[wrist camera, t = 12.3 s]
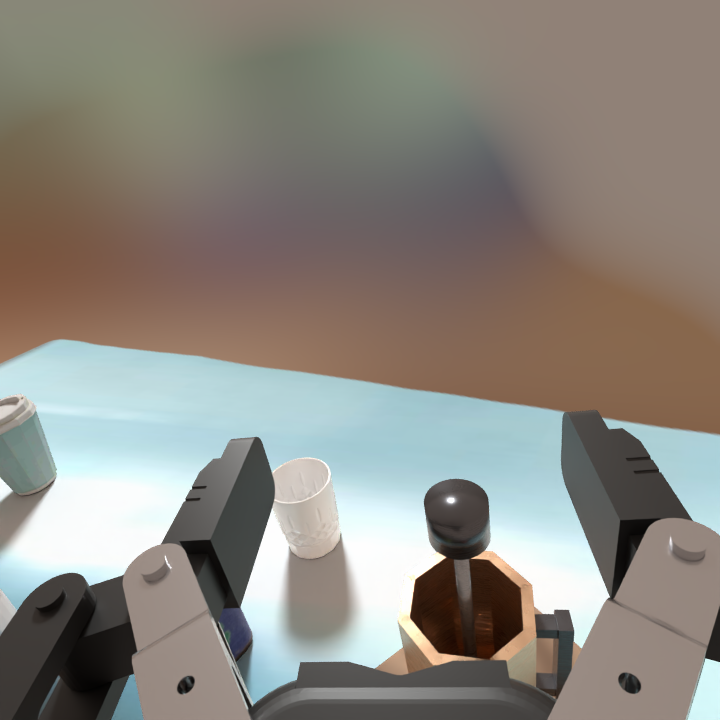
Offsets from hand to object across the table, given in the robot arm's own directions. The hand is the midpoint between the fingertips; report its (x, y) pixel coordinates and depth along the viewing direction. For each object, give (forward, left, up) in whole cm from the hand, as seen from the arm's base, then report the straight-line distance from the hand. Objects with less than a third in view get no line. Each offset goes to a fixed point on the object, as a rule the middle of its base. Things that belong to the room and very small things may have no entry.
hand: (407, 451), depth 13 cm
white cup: (+7, +36, -40) cm, 55 cm away
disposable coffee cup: (-25, +79, -40) cm, 93 cm away
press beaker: (+9, +9, -39) cm, 41 cm away
